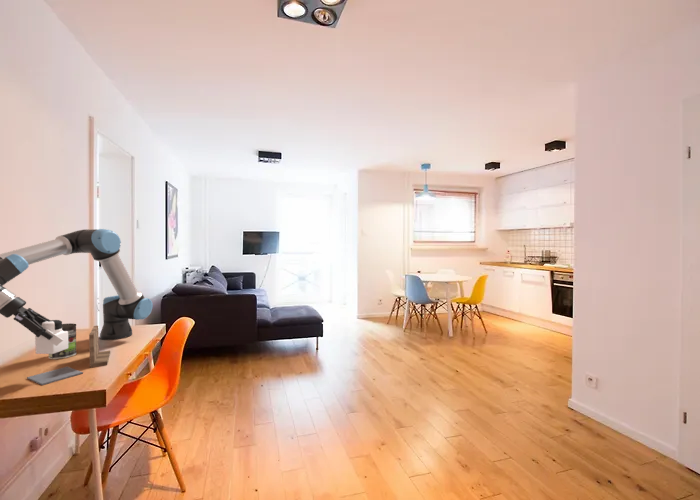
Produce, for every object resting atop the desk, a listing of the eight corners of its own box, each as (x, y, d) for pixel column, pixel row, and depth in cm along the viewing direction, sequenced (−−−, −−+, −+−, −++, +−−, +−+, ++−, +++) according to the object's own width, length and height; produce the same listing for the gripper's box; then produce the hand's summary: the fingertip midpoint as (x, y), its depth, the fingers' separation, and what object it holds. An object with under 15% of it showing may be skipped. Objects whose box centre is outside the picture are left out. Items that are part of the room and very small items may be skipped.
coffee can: (82, 352, 165) (81, 323, 165) (60, 360, 155) (59, 329, 155) (65, 351, 167) (64, 322, 167) (42, 358, 157) (41, 328, 157)
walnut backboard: (94, 355, 161) (94, 325, 161) (110, 353, 165) (109, 324, 164) (89, 367, 146) (89, 334, 146) (107, 364, 149) (106, 332, 149)
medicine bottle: (51, 348, 139) (51, 318, 139) (68, 348, 139) (68, 318, 139) (35, 353, 132) (34, 322, 132) (53, 354, 132) (52, 323, 132)
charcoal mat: (67, 367, 146) (67, 366, 146) (82, 373, 139) (82, 372, 139) (27, 378, 134) (27, 377, 134) (42, 385, 128) (42, 383, 128)
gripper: (7, 306, 137) (59, 340, 145) (-14, 317, 118) (47, 355, 127) (25, 292, 140) (75, 326, 148) (7, 300, 121) (65, 338, 129)
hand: (62, 339), depth 137 cm, fingers closed on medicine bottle, 10 cm apart
